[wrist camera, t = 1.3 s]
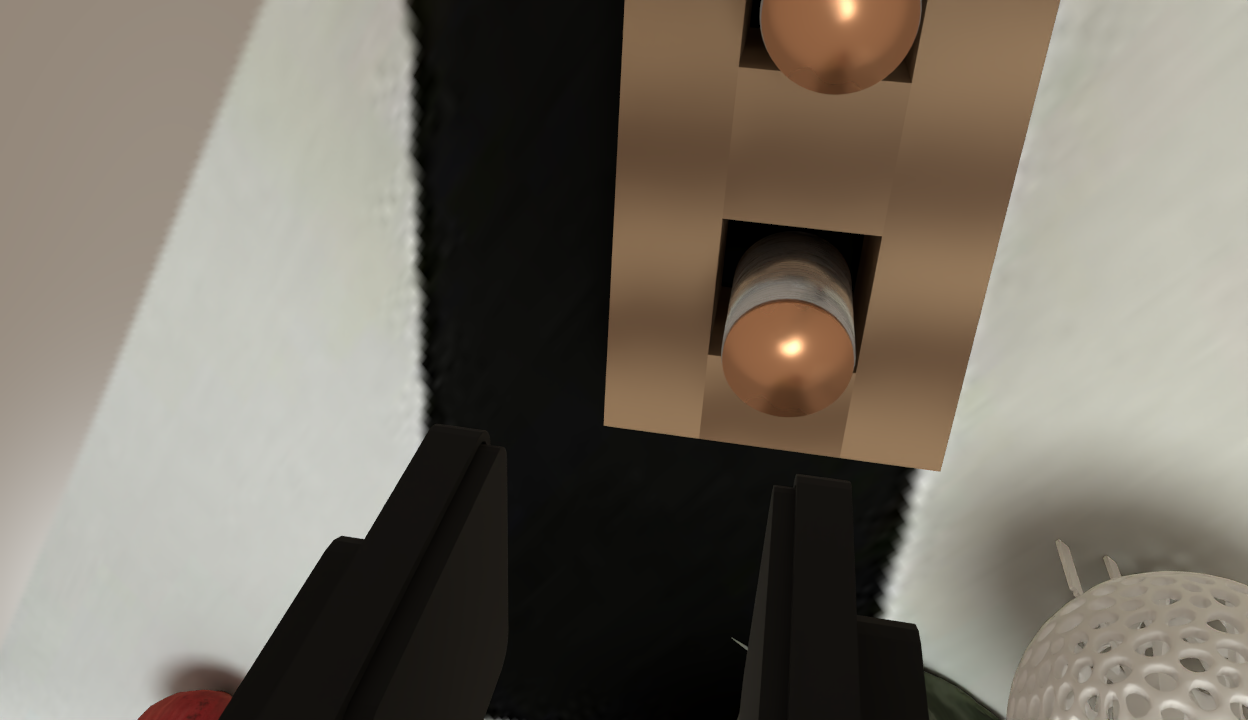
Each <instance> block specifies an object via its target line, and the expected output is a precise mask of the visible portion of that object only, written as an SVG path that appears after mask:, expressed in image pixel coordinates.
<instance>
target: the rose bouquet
mask: <svg viewBox="0 0 1248 720" xmlns="http://www.w3.org/2000/svg"><path fill="white" fill-rule="evenodd" d="M732 639H733V638H732ZM733 640H735V639H733ZM735 641H736V642H737V643H738V644H740V645H741V646H742V647H744V648H745V649H746V650H747V651H748V647H747V646H745V645H744V644H742V643H740V642H738V641H737V640H735ZM924 677H925V686H926V695H927V704H928V713H929V720H1000V719H998V718H997V717H996V716H995V715H993V714H992V713H991V712H989V711H988V710H987V709H986V708H984V707H983V706H981V705H980V704H978V703H977V702H976V701H975V700H974V699H973V698H971V697H970V696H969V695H967V694H966V693H965V692H963V691H962V690H961V689H959V688H957V687H956V686H954V685H952V684H950V683H948V682H946V681H945V680H943V679H941V678H938V677H936V676H934V675H931V674H929V673H926V672H924ZM739 715H740V713H739ZM737 720H739V716H738V718H737Z"/></svg>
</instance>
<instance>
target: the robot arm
mask: <svg viewBox="0 0 1248 720" xmlns="http://www.w3.org/2000/svg"><path fill="white" fill-rule="evenodd" d="M507 641H508V542H507V454H506V450H505V448H504V447H499V446H492V445H491V443H490V437H489V433H488V432H487V431H484V430H477V429H470V428H463V427H456V426H448V425H441V424H435V425H433V426H432V427H431V429H430V430H429V431H428V433H427V435H426V436H425V438H424V440H423V441H422V443H421V445H420V446H419V448H418V450H417V451H416V453H415V455H414V457H413V458H412V460H411V462H410V463H409V465H408V467H407V468H406V470H405V472H404V473H403V475H402V477H401V478H400V480H399V482H398V483H397V485H396V487H395V489H394V490H393V492H392V494H391V495H390V497H389V499H388V500H387V502H386V504H385V505H384V507H383V509H382V510H381V512H380V514H379V516H378V517H377V519H376V521H375V522H374V524H373V526H372V527H371V529H370V531H369V532H368V534H367V536H366V537H365V539H359V538H352V537H346V536H340V537H339V538H337V539H335V540H333V542H332V543H331V544H330V545H329V547H328V548H327V549H326V550H325V552H324V553H323V555H322V557H321V558H320V560H319V561H318V563H317V564H316V566H315V568H314V569H313V571H312V572H311V574H310V575H309V577H308V579H307V580H306V582H305V583H304V585H303V587H302V588H301V590H300V591H299V593H298V594H297V596H296V598H295V599H294V601H293V602H292V604H291V605H290V607H289V609H288V610H287V612H286V613H285V615H284V616H283V618H282V620H281V621H280V623H279V624H278V626H277V628H276V629H275V631H274V632H273V634H272V635H271V637H270V639H269V640H268V642H267V643H266V645H265V646H264V648H263V650H262V651H261V653H260V654H259V656H258V657H257V659H256V661H255V662H254V664H253V665H252V667H251V668H250V670H249V672H248V673H247V675H246V676H245V678H244V680H243V681H242V683H241V684H240V686H239V687H238V689H237V691H236V692H235V694H234V695H233V697H232V698H231V700H230V702H229V703H228V705H227V706H226V708H225V709H224V711H223V713H222V714H221V716H220V717H219V719H218V720H484V717H485V714H486V711H487V709H488V706H489V703H490V700H491V697H492V694H493V692H494V689H495V686H496V683H497V680H498V678H499V675H500V672H501V669H502V666H503V663H504V658H505V654H506V648H507ZM739 720H929V713H928V704H927V695H926V686H925V677H924V668H923V659H922V650H921V642H920V636H919V631H918V629H917V627H916V625H915V624H911V623H905V622H898V621H892V620H885V619H879V618H872V617H866V616H859V615H857V611H856V586H855V560H854V535H853V509H852V488H851V482H850V481H844V480H837V479H830V478H823V477H815V476H808V475H801V474H796V477H795V481H794V486H793V488H791V487H784V486H777V485H774V486H773V490H772V496H771V503H770V509H769V516H768V522H767V529H766V535H765V542H764V548H763V555H762V561H761V567H760V574H759V580H758V587H757V593H756V600H755V606H754V613H753V619H752V626H751V632H750V639H749V645H748V652H747V658H746V664H745V671H744V678H743V686H742V694H741V704H740V715H739Z"/></svg>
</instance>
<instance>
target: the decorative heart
mask: <svg viewBox="0 0 1248 720" xmlns="http://www.w3.org/2000/svg"><path fill="white" fill-rule="evenodd" d="M1055 543H1056V546H1057V549H1058V553H1059V556H1060V559H1061V563H1062V566H1063V569H1064V573H1065V576H1066V579H1067V583H1068V586H1069V589H1070V590H1071V591H1072V592H1073V594H1074V596H1075V597H1076V598H1075V599H1073V600H1071V601H1069V602H1068V603H1066V604H1065V605H1064V606H1063V607H1062V608H1061V609H1060V610H1059V611H1058V612H1057V613H1056V614H1054V615H1053V616H1052V617H1051V618H1050V619H1049V620H1048V621H1046V622H1045V623H1044V624H1043V626H1042V627H1041V628H1040V630H1039V631H1038V633H1037V634H1036V636H1035V637H1034V638H1033V640H1032V641H1031V643H1030V644H1029V646H1028V647H1027V649H1026V651H1025V652H1024V654H1023V656H1022V658H1021V661H1020V663H1019V666H1018V668H1017V670H1016V673H1015V676H1014V679H1013V682H1012V686H1011V691H1010V696H1009V700H1008V708H1007V718H1006V720H1109V717H1108V711H1109V708H1110V707H1112V708H1113V720H1246V718H1245V717H1244V715H1243V706H1242V704H1243V705H1244V706H1246V707H1247V708H1248V585H1245V584H1242V583H1239V582H1236V581H1234V580H1231V579H1227V578H1222V577H1217V576H1213V575H1208V574H1202V573H1193V572H1181V571H1157V572H1147V573H1140V574H1133V575H1127V576H1122V577H1121V574H1120V572H1119V569H1118V566H1117V563H1116V562H1114V561H1113V560H1112V559H1111V558H1110V557H1108V556H1107V555H1106V556H1105V557H1103V560H1104V562H1105V565H1106V568H1107V571H1108V574H1109V576H1110V579H1111V580H1108V581H1105V582H1103V583H1100V584H1098V585H1096V586H1094V587H1092V588H1091V589H1089V590H1088V591H1086V592H1085V593H1083V591H1082V588H1081V584H1080V581H1079V578H1078V575H1077V572H1076V568H1075V565H1074V562H1073V559H1072V556H1071V553H1070V549H1069V547H1068V546H1067V545H1066V544H1065V543H1063V542H1062V541H1061V540H1060V539H1058V540H1057V541H1055ZM1215 598H1218V599H1221V600H1224V601H1225V605H1223V604H1221V603H1219V602H1218V601H1217V600H1215ZM1170 599H1174V600H1177V602H1175V603H1173V604H1170ZM1159 600H1160V601H1159ZM1214 620H1220V621H1221V622H1222V623H1223V625H1224V626H1225V628H1226V630H1227V633H1225V632H1222V631H1218V630H1216V629H1214V628H1212V627H1210V626H1209V625H1208V624H1207V623H1208V622H1211V621H1214ZM1106 622H1107V623H1106ZM1142 622H1144V624H1145V626H1146V627H1145V628H1141V629H1140V627H1141V624H1142ZM1098 625H1100V628H1098V629H1095V628H1096V627H1097V626H1098ZM1075 626H1077V627H1075ZM1074 627H1075V628H1074ZM1184 638H1186V639H1187V641H1188V642H1185V641H1184V640H1182V639H1184ZM1079 642H1084V648H1083V649H1082V648H1081V647H1080V646H1078V645H1077V644H1078V643H1079ZM1110 646H1111V650H1110V651H1109V652H1106V653H1100V652H1101V651H1103V650H1104V649H1106V648H1108V647H1110ZM1147 648H1153V656H1145V651H1146V649H1147ZM1074 653H1075V654H1074ZM1185 658H1197V659H1199V660H1200V662H1201V664H1202V665H1203V667H1204V669H1205V670H1206V671H1204V672H1193V671H1190V670H1188V669H1186V668H1185V667H1184V666H1183V665H1182V664H1181V663H1180V660H1182V659H1185ZM1226 658H1228V659H1226ZM1119 665H1121V666H1122V668H1123V670H1124V671H1125V672H1124V671H1123V670H1122V669H1121V668H1120V666H1119ZM1090 666H1092V667H1093V670H1092V669H1091V667H1090ZM1107 678H1108V679H1109V680H1110V681H1112V684H1107ZM1197 688H1201V689H1204V690H1206V691H1207V692H1209V693H1210V694H1205V693H1203V692H1201V691H1200V690H1198V689H1197ZM1093 696H1096V704H1095V708H1094V710H1092V709H1091V707H1090V705H1089V703H1088V700H1089V699H1090V698H1091V697H1093Z"/></svg>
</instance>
